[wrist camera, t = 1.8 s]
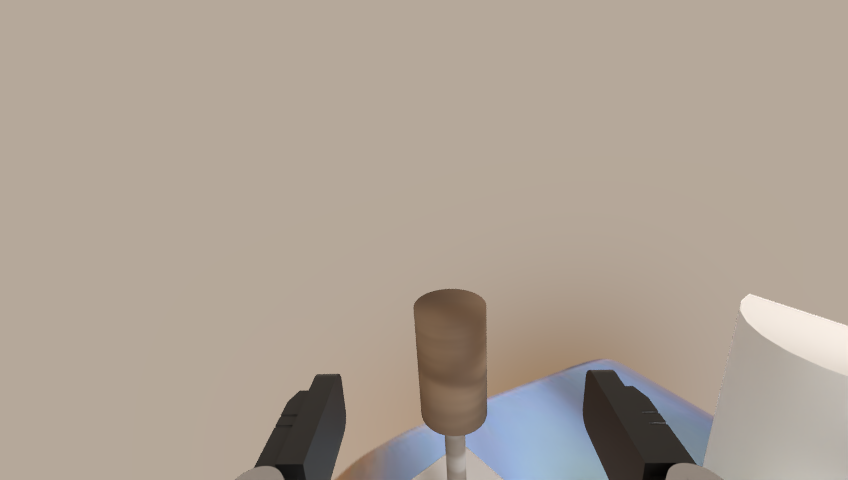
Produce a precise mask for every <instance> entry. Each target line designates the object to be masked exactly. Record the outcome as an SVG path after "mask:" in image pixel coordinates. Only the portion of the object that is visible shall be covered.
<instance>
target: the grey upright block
mask: <svg viewBox="0 0 848 480" xmlns="http://www.w3.org/2000/svg"><path fill="white" fill-rule="evenodd" d="M465 448H466V480H503V479H502V478H501V477H500V476H499V475H498V474H497V473H495V472H494V471H493V470H492V469H491V468H490V467H489V466H487V465H486V464H485V463H484V462H483V461H482V460H481V459H480V458H478V457H477V456H476V455H475V454H474V453H473V452H472V451H470V450H469V449H468V448H467V447H466V446H465ZM411 480H447V466H446V454H445V455H444V456H443V457H441V458H440V459H438V460H437V461H436V462H434V463H433V464H432V465H430V466H429V467H428V468H426V469H425V470H424V471H422V472H421V473H420V474H418V475H417V476H416V477H414V478H413V479H411Z"/></svg>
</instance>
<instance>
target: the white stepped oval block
mask: <svg viewBox="0 0 848 480" xmlns="http://www.w3.org/2000/svg"><path fill="white" fill-rule="evenodd" d="M702 467H704V468H706V469H708V470H710V471H712V472H714V473H715V474H717V475H718V476H720V477H721V478H722V479H723V480H848V326H847V325H843V324H841V323H838V322H835V321H831V320H829V319H825V318H822V317H819V316H816V315H813V314H810V313H807V312H804V311H801V310H798V309H795V308H792V307H788V306H786V305H782V304H779V303H776V302H773V301H770V300H767V299H764V298H761V297H758V296H755V295H752V294H748V295H747V296H746V297H745V298H744V299H743V300H741V303H740V308H739V312H738V317H737V321H736V325H735V329H734V333H733V338H732V342H731V347H730V351H729V355H728V359H727V364H726V368H725V372H724V376H723V380H722V385H721V389H720V393H719V398H718V402H717V406H716V410H715V415H714V419H713V423H712V428H711V432H710V436H709V440H708V445H707V449H706V453H705V458H704V462H703V466H702Z"/></svg>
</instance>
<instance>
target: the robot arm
mask: <svg viewBox="0 0 848 480" xmlns="http://www.w3.org/2000/svg"><path fill="white" fill-rule="evenodd" d="M583 419H584V424H585V428H586V430H587V433H588V435H589V437H590V439H591V441H592V444H593V446H594V448H595V450H596V452H597V455H598V457H599V459H600V461H601V463H602V465H603V468H604V470H605V472H606V474H607V476H608V478H609V480H723V479H722V478H721V477H720V476H718V475H717V474H715V473H714V472H712V471H710V470H708V469H706V468H704V467H701V466H699V465H697V464H696V463H695V462H694V460H693V459H692V457H691V456H690V455H689V453H688V452H687V451H686V449H685V448H684V446H683V445H682V444H681V442H680V441H679V440H678V438H677V437H676V435H675V434H674V433H673V431H672V430H671V428H670V427H669V426H668V425H666V422H665V420H664V419H663V417H662V416H661V415H660V413H658V411H657V409H656V408H655V406H654V405H653V404H652V402H651V401H650V399H649V398H648V397H647V396H645V395H644V394H643V393H641V392H640V391H639V390H637V389H636V388H635V387H633V386H624V384H623V383H622V381H621V380H620V378H619V377H618V375H617V374H616V373H615V371H614V370H588V371H587V374H586V381H585V391H584V402H583ZM345 424H346V410H345V403H344V395H343V388H342V380H341V376H340V374H317V375H316V376H315V378H314V380H313V382H312V385H311V387H310V389H309V391H299V392H298V393H297V394H296V395H295V396H294V397H293V398H291V399H290V400H289V401H288V403H287V404H286V406H285V408H284V410H283V412H282V414H281V417H280V418H279V420H278V422H277V424H276V428H274V430H273V432H272V434H271V436H270V438H269V439H268V441H267V443H266V446H265V447H264V449H263V451H262V453H261V455H260V457H259V459H258V461H257V463H256V465H255V467H254V468H253V469H251V470H248V471H247V472H245V473H243V474H242V475H240V476H239V477H238V478H237V479H235V480H331V476H332V473H333V469H334V466H335V462H336V459H337V455H338V452H339V448H340V445H341V442H342V438H343V435H344V431H345Z"/></svg>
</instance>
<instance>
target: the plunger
mask: <svg viewBox="0 0 848 480" xmlns="http://www.w3.org/2000/svg"><path fill="white" fill-rule="evenodd" d="M414 319H415V333H416V346H417V358H418V372H419V386H420V399H421V412H422V418H423V420H424V422H425V423H426V425H427V426H428V427H429V428H430V429H432V430H433V431H435V432H437V433H439V434H442V435H445V447H446V466H447V480H466V448H465V435H467V434H469V433H472V432H474V431H475V430H477V429H478V428H479V427H481V425H482V424H483V423H484V421H485V419H486V416H487V365H486V364H487V363H486V361H487V360H486V359H487V358H486V357H487V356H486V353H487V352H486V303H485V301H484V300H483V298H482V297H480V296H479V295H477V294H475V293H473V292H469V291H466V290H460V289H444V290H437V291H433V292H430V293H427V294H425V295H423V296H421V297H420V298H419V299H418V300H417V301H416V302H415V304H414Z"/></svg>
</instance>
